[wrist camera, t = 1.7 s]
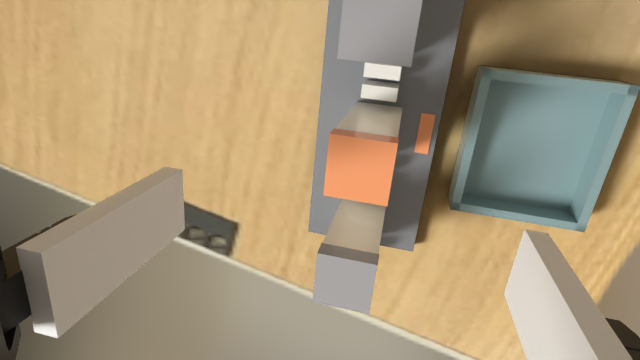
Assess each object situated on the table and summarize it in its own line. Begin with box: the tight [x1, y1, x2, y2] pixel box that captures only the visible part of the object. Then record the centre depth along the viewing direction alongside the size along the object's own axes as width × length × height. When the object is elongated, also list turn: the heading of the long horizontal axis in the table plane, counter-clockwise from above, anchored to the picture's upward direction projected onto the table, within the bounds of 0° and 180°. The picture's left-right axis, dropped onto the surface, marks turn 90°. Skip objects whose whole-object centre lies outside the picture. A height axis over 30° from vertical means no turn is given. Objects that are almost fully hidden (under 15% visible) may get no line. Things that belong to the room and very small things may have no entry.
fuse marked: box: [323, 102, 402, 206], centre depth 25 cm, size 4×4×10 cm
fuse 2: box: [313, 199, 386, 314], centre depth 28 cm, size 4×4×10 cm
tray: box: [448, 66, 640, 232], centre depth 28 cm, size 10×9×2 cm
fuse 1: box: [337, 0, 422, 67], centre depth 22 cm, size 4×4×10 cm
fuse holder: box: [308, 0, 465, 251], centre depth 29 cm, size 21×9×4 cm, turn 175°
